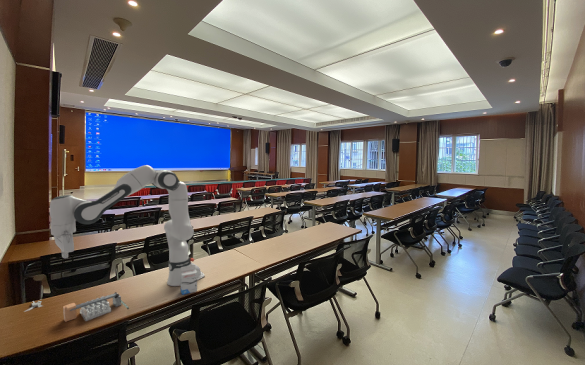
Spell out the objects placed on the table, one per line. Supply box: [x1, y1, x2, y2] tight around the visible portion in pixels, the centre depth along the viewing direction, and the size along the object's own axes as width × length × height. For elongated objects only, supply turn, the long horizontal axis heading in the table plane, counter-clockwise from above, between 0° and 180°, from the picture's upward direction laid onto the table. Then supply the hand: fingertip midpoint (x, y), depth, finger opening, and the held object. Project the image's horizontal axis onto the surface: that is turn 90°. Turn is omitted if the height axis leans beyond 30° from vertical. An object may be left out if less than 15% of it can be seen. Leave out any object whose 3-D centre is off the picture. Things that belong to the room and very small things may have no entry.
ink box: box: [180, 264, 198, 295], centre depth 146 cm, size 8×5×15 cm, turn 123°
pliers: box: [23, 300, 43, 313], centre depth 127 cm, size 10×2×15 cm
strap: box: [70, 291, 120, 311], centre depth 123 cm, size 19×4×1 cm, turn 142°
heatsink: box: [79, 294, 122, 322], centre depth 125 cm, size 15×10×5 cm, turn 142°
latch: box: [62, 302, 78, 323], centre depth 117 cm, size 4×6×7 cm, turn 52°
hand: (65, 257), depth 121 cm, fingers closed
